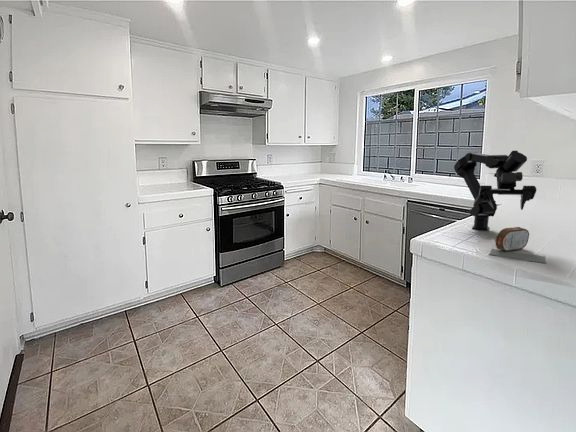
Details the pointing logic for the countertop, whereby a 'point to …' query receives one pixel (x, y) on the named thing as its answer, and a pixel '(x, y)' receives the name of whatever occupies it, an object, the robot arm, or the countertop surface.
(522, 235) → the tin
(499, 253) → the mat
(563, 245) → the countertop surface
